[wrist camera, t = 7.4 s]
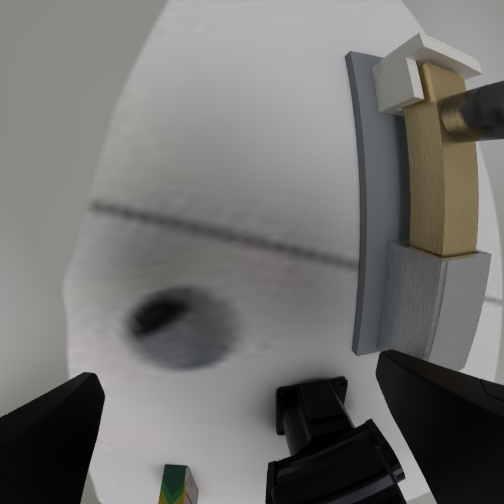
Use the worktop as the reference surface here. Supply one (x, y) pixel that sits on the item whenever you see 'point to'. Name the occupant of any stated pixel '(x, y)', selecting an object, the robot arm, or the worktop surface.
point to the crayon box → (178, 486)
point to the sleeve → (432, 303)
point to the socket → (415, 71)
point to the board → (377, 194)
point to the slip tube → (448, 159)
